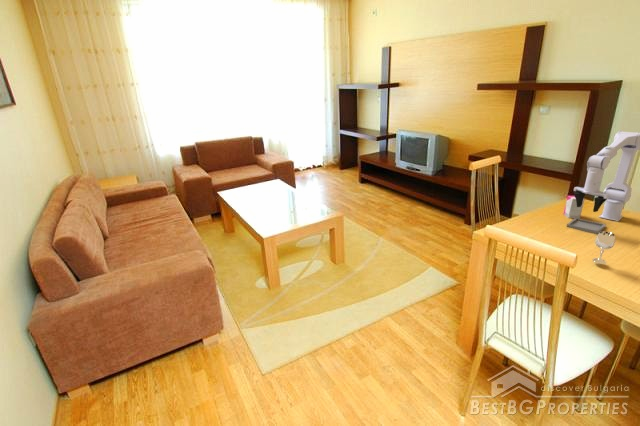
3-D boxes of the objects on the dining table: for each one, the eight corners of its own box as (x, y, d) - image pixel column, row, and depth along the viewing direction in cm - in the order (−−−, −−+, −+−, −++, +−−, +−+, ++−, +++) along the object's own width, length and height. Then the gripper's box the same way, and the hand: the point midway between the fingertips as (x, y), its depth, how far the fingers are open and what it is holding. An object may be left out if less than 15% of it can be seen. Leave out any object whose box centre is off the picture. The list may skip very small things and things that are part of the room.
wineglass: (586, 258, 138) (593, 231, 134) (599, 257, 138) (607, 230, 134) (598, 265, 133) (606, 237, 128) (612, 264, 133) (620, 236, 129)
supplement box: (580, 219, 177) (585, 198, 173) (567, 219, 178) (572, 198, 174) (574, 215, 182) (579, 195, 178) (562, 215, 183) (566, 195, 179)
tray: (574, 220, 176) (575, 217, 175) (605, 227, 166) (605, 224, 166) (566, 227, 168) (566, 224, 168) (597, 234, 159) (598, 231, 159)
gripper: (571, 179, 162) (566, 205, 166) (604, 186, 149) (597, 215, 153) (582, 177, 164) (576, 203, 168) (615, 184, 151) (607, 212, 155)
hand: (586, 209), depth 161 cm, fingers open, 7 cm apart
